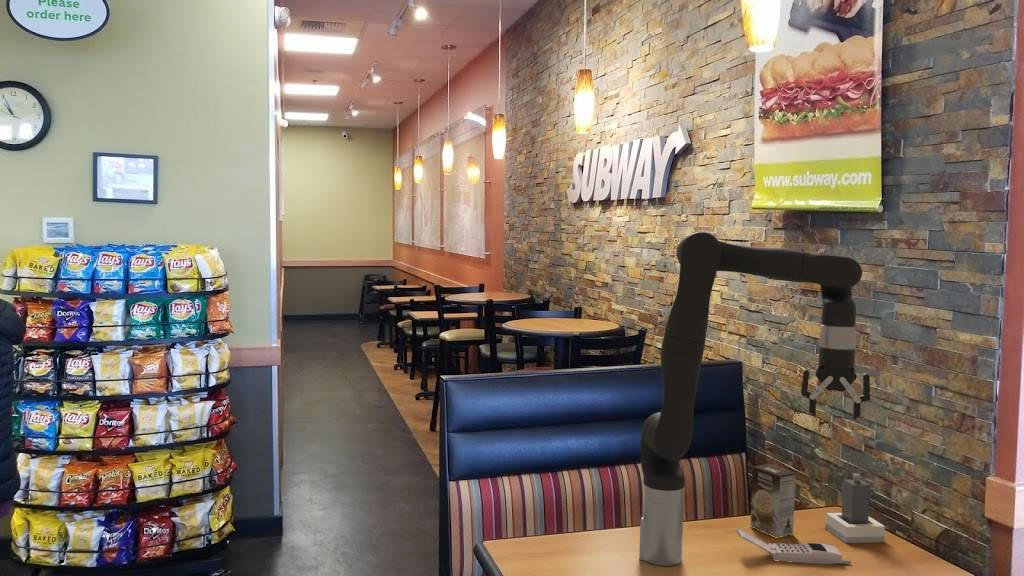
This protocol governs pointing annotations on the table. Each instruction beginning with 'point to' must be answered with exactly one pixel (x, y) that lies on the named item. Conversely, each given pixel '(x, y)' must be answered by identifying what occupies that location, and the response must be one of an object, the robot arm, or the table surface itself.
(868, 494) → the plug
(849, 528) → the socket block
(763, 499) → the coffee box
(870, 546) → the table surface
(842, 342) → the robot arm
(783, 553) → the mobile phone
